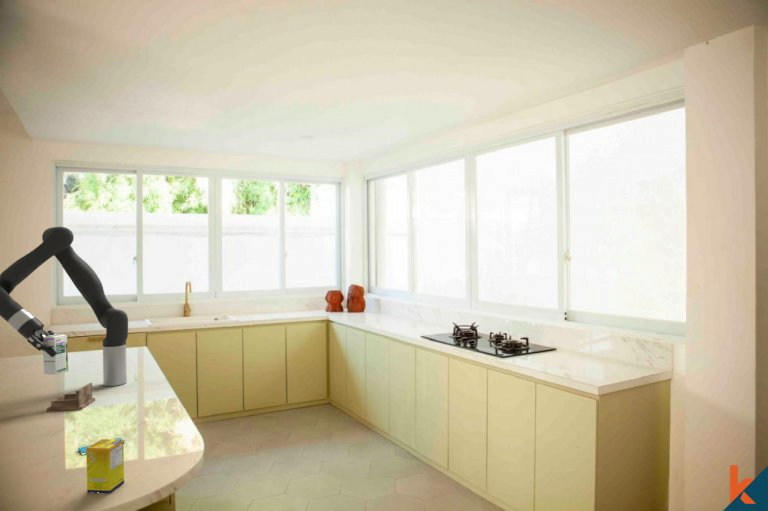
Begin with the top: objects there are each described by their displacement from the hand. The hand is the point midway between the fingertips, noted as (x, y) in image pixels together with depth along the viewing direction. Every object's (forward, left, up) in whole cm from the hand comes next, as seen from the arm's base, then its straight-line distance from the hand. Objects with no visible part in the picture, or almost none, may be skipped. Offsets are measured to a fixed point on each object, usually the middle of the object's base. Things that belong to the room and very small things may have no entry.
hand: (59, 353), depth 195 cm
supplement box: (+79, +45, -20) cm, 93 cm away
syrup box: (0, -2, -8) cm, 8 cm away
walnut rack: (+2, +5, -20) cm, 21 cm away
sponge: (+50, +33, -21) cm, 63 cm away
